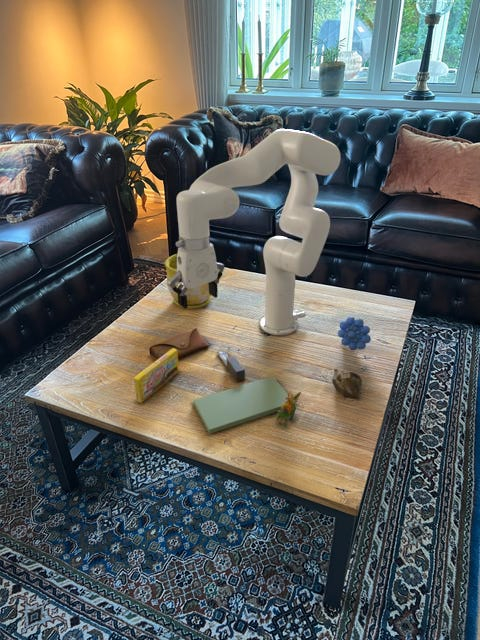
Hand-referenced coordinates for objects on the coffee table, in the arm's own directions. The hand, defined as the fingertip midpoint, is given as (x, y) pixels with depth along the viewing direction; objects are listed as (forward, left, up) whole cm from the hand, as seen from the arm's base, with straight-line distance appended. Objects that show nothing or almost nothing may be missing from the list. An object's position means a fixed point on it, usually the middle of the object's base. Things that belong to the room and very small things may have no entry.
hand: (198, 301), depth 120 cm
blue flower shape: (-47, +11, -23) cm, 53 cm away
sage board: (-4, +20, -23) cm, 30 cm away
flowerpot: (-11, -40, -23) cm, 48 cm away
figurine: (-13, +29, -23) cm, 39 cm away
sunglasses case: (+3, -11, -23) cm, 26 cm away
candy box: (+14, +3, -23) cm, 27 cm away
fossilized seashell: (-33, +26, -23) cm, 48 cm away
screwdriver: (-8, +2, -23) cm, 24 cm away
